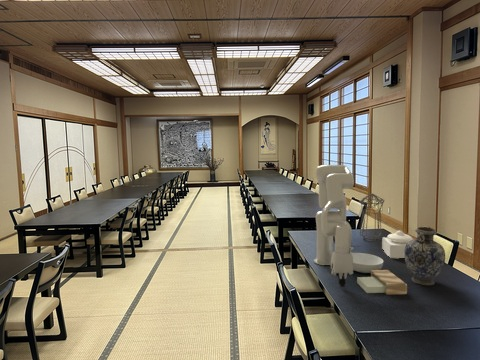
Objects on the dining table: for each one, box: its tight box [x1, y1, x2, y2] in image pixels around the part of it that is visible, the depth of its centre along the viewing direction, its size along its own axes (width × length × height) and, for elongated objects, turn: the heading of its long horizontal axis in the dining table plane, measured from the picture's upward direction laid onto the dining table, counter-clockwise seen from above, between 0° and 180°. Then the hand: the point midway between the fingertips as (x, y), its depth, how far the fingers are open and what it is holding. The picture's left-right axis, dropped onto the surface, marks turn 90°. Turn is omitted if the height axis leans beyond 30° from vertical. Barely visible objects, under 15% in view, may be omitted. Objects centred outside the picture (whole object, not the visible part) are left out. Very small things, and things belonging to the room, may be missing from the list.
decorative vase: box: [404, 226, 446, 287], centre depth 176 cm, size 21×19×28 cm
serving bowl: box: [352, 252, 384, 274], centre depth 193 cm, size 21×21×7 cm
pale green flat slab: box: [356, 276, 386, 294], centre depth 170 cm, size 12×16×3 cm
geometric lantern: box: [358, 193, 385, 242], centre depth 252 cm, size 16×16×35 cm
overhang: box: [370, 269, 408, 296], centre depth 171 cm, size 17×10×5 cm, turn 3°
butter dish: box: [381, 229, 414, 259], centre depth 220 cm, size 18×18×16 cm
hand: (341, 285), depth 170 cm, fingers closed
